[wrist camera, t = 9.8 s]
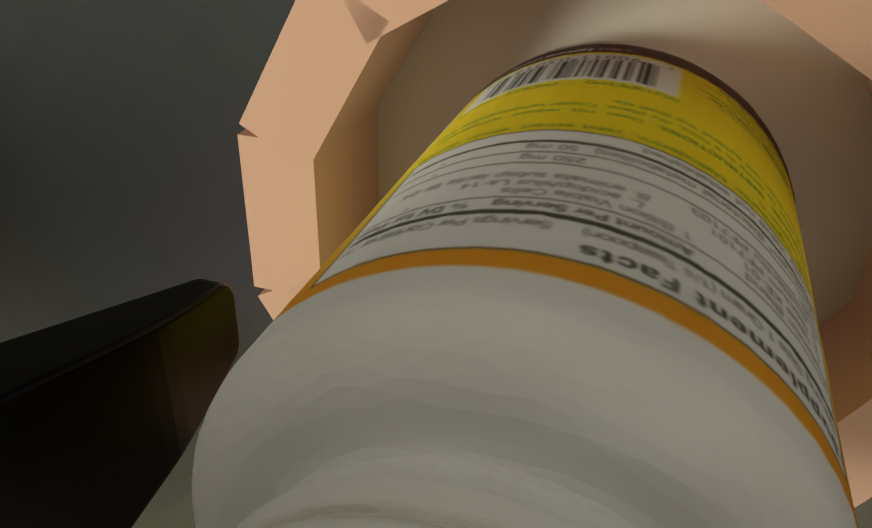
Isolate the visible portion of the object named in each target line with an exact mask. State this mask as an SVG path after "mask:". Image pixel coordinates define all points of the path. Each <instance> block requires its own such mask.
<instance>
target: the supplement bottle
mask: <svg viewBox="0 0 872 528" xmlns="http://www.w3.org/2000/svg"><path fill="white" fill-rule="evenodd" d="M192 506H193V514H194V521H195V528H858V524H857V519H856V514H855V510H854V505H853V500H852V495H851V490H850V486H849V481H848V476H847V471H846V466H845V460H844V455H843V450H842V445H841V440H840V435H839V430H838V425H837V420H836V416H835V411H834V406H833V399H832V393H831V387H830V380H829V374H828V369H827V365H826V360H825V355H824V351H823V346H822V342H821V337H820V332H819V327H818V322H817V316H816V311H815V305H814V300H813V294H812V289H811V283H810V278H809V272H808V267H807V263H806V258H805V253H804V247H803V241H802V236H801V231H800V226H799V221H798V216H797V211H796V205H795V195H794V191H793V187H792V184H791V180H790V176H789V172H788V169H787V166H786V164H785V161H784V159H783V156H782V154H781V151H780V149H779V147H778V145H777V143H776V141H775V139H774V137H773V135H772V133H771V132H770V130H769V128H768V127H767V125H766V124H765V122H764V121H763V119H762V118H761V117H760V115H759V114H758V112H757V111H756V110H755V109H754V108H753V106H752V105H751V104H750V103H749V102H748V101H747V99H745V98H744V97H743V96H742V95H741V94H740V93H739V92H738V91H737V90H736V89H735V88H733V87H732V86H731V85H730V84H729V83H727V82H726V81H725V80H724V79H722V78H721V77H719V76H718V75H716V74H715V73H713V72H711V71H710V70H708V69H707V68H705V67H703V66H701V65H700V64H698V63H696V62H694V61H692V60H690V59H687V58H685V57H683V56H680V55H678V54H675V53H672V52H669V51H666V50H663V49H659V48H655V47H652V46H647V45H641V44H634V43H626V42H589V43H581V44H575V45H569V46H564V47H560V48H556V49H553V50H550V51H546V52H544V53H542V54H539V55H537V56H534V57H532V58H530V59H527V60H525V61H523V62H521V63H519V64H517V65H516V66H514V67H512V68H510V69H509V70H507V71H506V72H504V73H503V74H502V75H500V76H499V77H497V78H496V79H494V80H493V81H492V82H491V83H490V84H488V85H487V86H486V87H485V88H484V89H483V90H482V91H480V92H479V93H478V94H477V95H476V96H475V97H474V98H473V99H472V100H471V101H470V102H469V103H468V104H467V105H466V106H465V108H464V109H463V110H462V111H461V112H460V113H459V114H458V115H457V116H456V117H455V118H454V120H453V121H452V122H451V123H450V124H449V125H448V126H447V127H446V128H445V130H444V131H443V132H442V133H441V134H440V135H439V136H438V137H437V138H436V140H435V141H434V142H433V143H432V144H431V145H430V146H429V147H428V148H427V149H426V151H425V152H424V153H423V154H422V155H421V156H420V157H419V158H418V159H417V161H416V162H415V163H414V164H413V165H412V166H411V167H410V168H409V169H408V171H407V172H406V173H405V174H404V175H403V176H402V177H401V178H400V180H399V181H398V182H397V183H396V184H395V185H394V186H393V187H392V189H391V190H390V191H389V192H388V193H387V194H386V195H385V196H384V197H383V199H382V200H381V201H380V202H379V203H378V204H377V205H376V207H375V208H374V209H373V210H372V211H371V212H370V214H369V215H368V216H367V217H366V218H365V219H364V220H363V221H362V222H361V224H360V225H359V226H358V227H357V228H356V229H355V230H354V231H353V233H352V234H351V235H350V236H349V237H348V238H347V239H346V240H345V241H344V242H343V244H342V245H341V246H340V247H339V248H338V249H337V250H336V251H335V252H334V254H333V255H332V256H331V257H330V258H329V259H328V260H327V261H326V262H325V263H324V265H323V266H322V267H321V268H320V269H319V270H318V271H317V272H316V273H315V274H314V276H313V277H312V278H311V279H310V280H309V281H308V282H307V283H306V285H305V286H304V287H303V288H302V289H301V290H300V291H299V292H298V293H297V294H296V295H295V297H294V298H293V299H292V300H291V301H290V302H289V303H288V304H287V305H286V306H285V308H284V309H283V310H282V311H281V312H280V314H279V315H278V316H277V317H276V318H275V319H274V321H273V322H272V323H271V324H270V325H269V326H268V328H267V329H266V330H265V331H264V332H263V333H262V334H261V335H260V337H259V338H258V339H257V340H256V341H255V342H254V343H253V344H252V346H251V347H250V348H249V349H248V350H247V351H246V352H245V353H244V355H243V356H242V357H241V358H240V359H239V360H238V361H237V363H236V364H235V365H234V367H233V368H232V369H231V371H230V372H229V374H228V375H227V377H226V378H225V380H224V381H223V383H222V384H221V386H220V388H219V390H218V391H217V393H216V395H215V397H214V399H213V401H212V403H211V404H210V406H209V408H208V411H207V413H206V416H205V419H204V422H203V425H202V427H201V429H200V432H199V436H198V440H197V443H196V447H195V454H194V463H193V473H192Z"/></svg>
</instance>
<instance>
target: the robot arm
mask: <svg viewBox="0 0 872 528" xmlns="http://www.w3.org/2000/svg"><path fill="white" fill-rule="evenodd" d="M239 346H240V336H239V328H238V320H237V312H236V304H235V297H234V293H233V291H232V289H231V287H230V286H228V285H227V284H224V283H219V282H214V281H209V280H204V279H197V280H193V281H190V282H187V283H184V284H181V285H178V286H174V287H171V288H168V289H165V290H162V291H159V292H156V293H153V294H150V295H147V296H144V297H140V298H137V299H134V300H131V301H128V302H125V303H122V304H119V305H116V306H113V307H110V308H106V309H103V310H100V311H97V312H94V313H91V314H88V315H85V316H82V317H79V318H76V319H72V320H69V321H66V322H63V323H60V324H57V325H54V326H51V327H48V328H45V329H42V330H38V331H35V332H32V333H29V334H26V335H23V336H20V337H17V338H14V339H11V340H8V341H4V342H1V343H0V528H132V526H133V525H134V523H135V522H136V521H137V519H138V518H139V516H140V515H141V513H142V512H143V511H144V509H145V508H146V506H147V505H148V504H149V502H150V501H151V499H152V498H153V496H154V495H155V494H156V492H157V491H158V489H159V488H160V487H161V485H162V484H163V482H164V481H165V479H166V478H167V477H168V475H169V474H170V472H171V471H172V469H173V468H174V466H175V465H176V463H177V462H178V460H179V459H180V457H181V456H182V454H183V452H184V451H185V449H186V447H187V446H188V444H189V442H190V441H191V439H192V437H193V435H194V434H195V432H196V430H197V428H198V426H199V425H200V423H201V421H202V419H203V417H204V416H205V414H206V412H207V410H208V408H209V406H210V404H211V403H212V401H213V399H214V397H215V395H216V393H217V391H218V390H219V388H220V386H221V384H222V383H223V381H224V380H225V378H226V376H227V374H228V372H229V371H230V369H231V367H232V365H233V363H234V362H235V359H236V357H237V354H238V351H239Z"/></svg>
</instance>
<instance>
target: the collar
mask: <svg viewBox="0 0 872 528" xmlns="http://www.w3.org/2000/svg"><path fill="white" fill-rule="evenodd" d="M589 42H626V43H634V44H641V45H647V46H652V47H655V48H659V49H663V50H666V51H669V52H672V53H675V54H678V55H680V56H683V57H685V58H687V59H690V60H692V61H694V62H696V63H698V64H700V65H701V66H703V67H705V68H707V69H708V70H710V71H711V72H713V73H715V74H716V75H718V76H719V77H721V78H722V79H724V80H725V81H726V82H727V83H729V84H730V85H731V86H732V87H733V88H735V89H736V90H737V91H738V92H739V93H740V94H741V95H742V96H743V97H744V98H745V99H747V101H748V102H749V103H750V104H751V105H752V106H753V108H754V109H755V110H756V111H757V112H758V114H759V115H760V117H761V118H762V119H763V121H764V122H765V124H766V125H767V127H768V128H769V130H770V132H771V133H772V135H773V137H774V139H775V141H776V143H777V145H778V147H779V149H780V151H781V154H782V156H783V159H784V161H785V164H786V166H787V169H788V172H789V176H790V180H791V184H792V187H793V191H794V195H795V205H796V211H797V216H798V221H799V226H800V231H801V236H802V241H803V247H804V253H805V258H806V263H807V267H808V272H809V278H810V283H811V289H812V294H813V300H814V305H815V311H816V316H817V322H818V327H819V332H820V337H821V342H822V346H823V351H824V355H825V360H826V365H827V369H828V374H829V380H830V387H831V393H832V399H833V406H834V411H835V416H836V420H837V425H838V430H839V435H840V440H841V445H842V450H843V455H844V460H845V466H846V471H847V476H848V481H849V486H850V490H851V495H852V500H853V505H854V508H855V507H857V506H858V505H860V504H861V503H863V502H864V501H866V500H868V499H869V498H871V497H872V0H296V1H295V3H294V5H293V7H292V10H291V12H290V14H289V16H288V18H287V20H286V23H285V25H284V27H283V29H282V31H281V33H280V36H279V38H278V40H277V42H276V44H275V46H274V49H273V51H272V53H271V55H270V57H269V60H268V62H267V64H266V66H265V68H264V70H263V73H262V75H261V77H260V79H259V81H258V83H257V86H256V88H255V90H254V92H253V94H252V97H251V99H250V101H249V103H248V105H247V107H246V110H245V112H244V114H243V116H242V118H241V120H240V123H239V124H240V125H242V126H243V127H245V128H246V129H245V130H244V131H242V132H241V133H239V134H238V143H239V152H240V161H241V170H242V179H243V188H244V197H245V206H246V215H247V224H248V233H249V242H250V251H251V260H252V269H253V278H254V286H255V287H260V288H265V289H264V291H263V292H262V293H261V294H260V295H259V296H258V297H259V298H260V300H261V301H262V303H263V305H264V306H265V308H266V309H267V311H268V312H269V314H270V316H271V317H272V319H273V320H274V319H275V318H276V317H277V316H278V315H279V314H280V312H281V311H282V310H283V309H284V308H285V306H286V305H287V304H288V303H289V302H290V301H291V300H292V299H293V298H294V297H295V295H296V294H297V293H298V292H299V291H300V290H301V289H302V288H303V287H304V286H305V285H306V283H307V282H308V281H309V280H310V279H311V278H312V277H313V276H314V274H315V273H316V272H317V271H318V270H319V269H320V268H321V267H322V266H323V265H324V263H325V262H326V261H327V260H328V259H329V258H330V257H331V256H332V255H333V254H334V252H335V251H336V250H337V249H338V248H339V247H340V246H341V245H342V244H343V242H344V241H345V240H346V239H347V238H348V237H349V236H350V235H351V234H352V233H353V231H354V230H355V229H356V228H357V227H358V226H359V225H360V224H361V222H362V221H363V220H364V219H365V218H366V217H367V216H368V215H369V214H370V212H371V211H372V210H373V209H374V208H375V207H376V205H377V204H378V203H379V202H380V201H381V200H382V199H383V197H384V196H385V195H386V194H387V193H388V192H389V191H390V190H391V189H392V187H393V186H394V185H395V184H396V183H397V182H398V181H399V180H400V178H401V177H402V176H403V175H404V174H405V173H406V172H407V171H408V169H409V168H410V167H411V166H412V165H413V164H414V163H415V162H416V161H417V159H418V158H419V157H420V156H421V155H422V154H423V153H424V152H425V151H426V149H427V148H428V147H429V146H430V145H431V144H432V143H433V142H434V141H435V140H436V138H437V137H438V136H439V135H440V134H441V133H442V132H443V131H444V130H445V128H446V127H447V126H448V125H449V124H450V123H451V122H452V121H453V120H454V118H455V117H456V116H457V115H458V114H459V113H460V112H461V111H462V110H463V109H464V108H465V106H466V105H467V104H468V103H469V102H470V101H471V100H472V99H473V98H474V97H475V96H476V95H477V94H478V93H479V92H480V91H482V90H483V89H484V88H485V87H486V86H487V85H488V84H490V83H491V82H492V81H493V80H494V79H496V78H497V77H499V76H500V75H502V74H503V73H504V72H506V71H507V70H509V69H510V68H512V67H514V66H516V65H517V64H519V63H521V62H523V61H525V60H527V59H530V58H532V57H534V56H537V55H539V54H542V53H544V52H546V51H550V50H553V49H556V48H560V47H564V46H569V45H575V44H581V43H589Z"/></svg>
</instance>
